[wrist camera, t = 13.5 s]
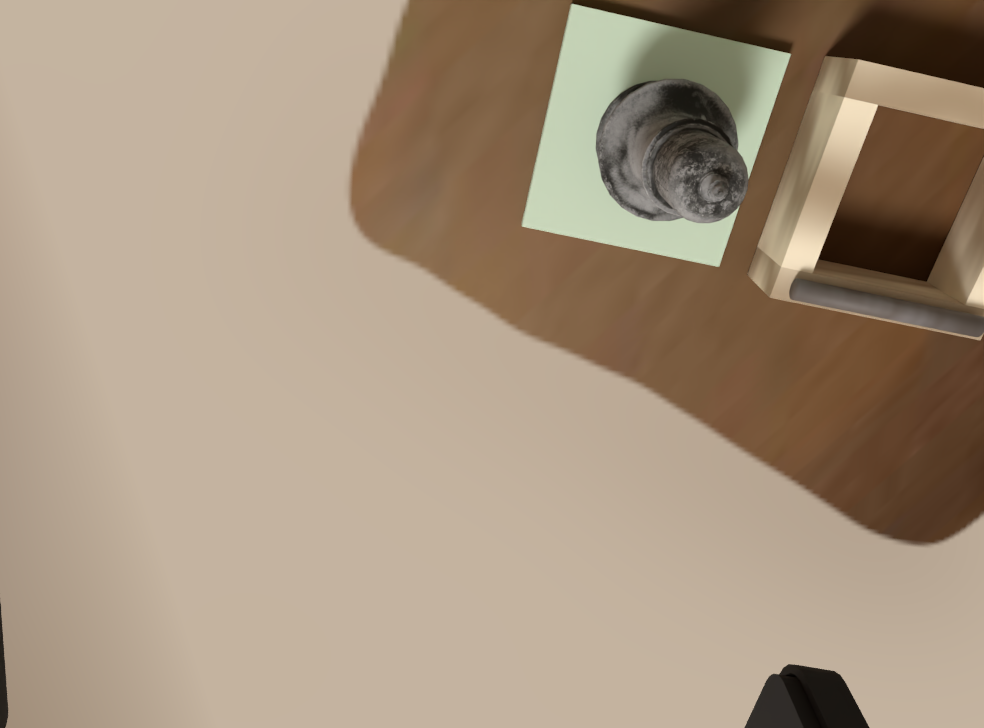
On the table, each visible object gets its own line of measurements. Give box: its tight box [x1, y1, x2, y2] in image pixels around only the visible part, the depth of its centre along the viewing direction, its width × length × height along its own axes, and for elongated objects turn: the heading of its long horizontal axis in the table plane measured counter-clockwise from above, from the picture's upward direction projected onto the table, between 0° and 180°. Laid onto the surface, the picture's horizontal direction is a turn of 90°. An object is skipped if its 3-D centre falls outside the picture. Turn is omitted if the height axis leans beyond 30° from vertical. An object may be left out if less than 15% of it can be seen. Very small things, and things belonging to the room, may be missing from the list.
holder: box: [747, 56, 984, 340], centre depth 35 cm, size 10×10×4 cm
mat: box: [522, 4, 791, 267], centre depth 36 cm, size 10×10×1 cm
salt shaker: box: [596, 79, 749, 223], centre depth 30 cm, size 6×6×12 cm
